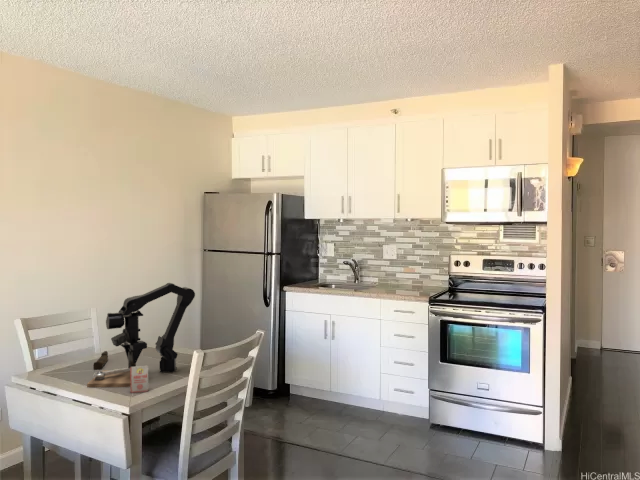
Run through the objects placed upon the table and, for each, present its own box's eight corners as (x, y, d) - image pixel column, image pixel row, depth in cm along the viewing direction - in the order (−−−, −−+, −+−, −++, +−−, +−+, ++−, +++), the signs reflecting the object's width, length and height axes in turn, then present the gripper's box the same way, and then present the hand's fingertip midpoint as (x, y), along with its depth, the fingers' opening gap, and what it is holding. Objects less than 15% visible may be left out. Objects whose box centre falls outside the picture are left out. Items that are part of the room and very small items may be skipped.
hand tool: (102, 370, 246) (102, 360, 246) (93, 370, 246) (93, 360, 245) (112, 359, 265) (112, 350, 265) (104, 359, 264) (104, 350, 264)
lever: (96, 378, 224) (95, 358, 223) (92, 375, 227) (92, 356, 227) (138, 370, 235) (138, 351, 235) (134, 368, 239) (134, 349, 238)
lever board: (148, 373, 241) (148, 367, 241) (136, 386, 222) (136, 380, 222) (103, 373, 240) (103, 367, 240) (87, 387, 221) (87, 380, 221)
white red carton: (130, 390, 218) (130, 365, 217) (148, 388, 220) (148, 364, 219) (130, 392, 214) (130, 368, 214) (148, 391, 216) (148, 366, 216)
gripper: (105, 325, 237) (105, 360, 237) (121, 332, 223) (122, 369, 223) (130, 322, 244) (130, 356, 245) (147, 329, 230) (147, 365, 231)
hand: (132, 361), depth 236 cm, fingers open, 5 cm apart
